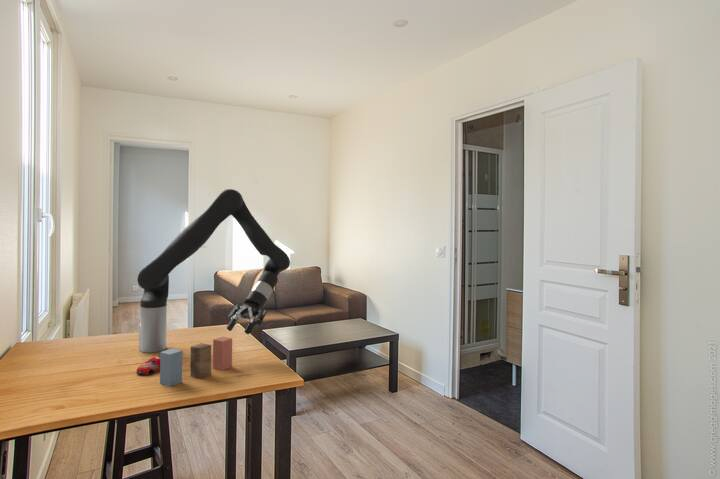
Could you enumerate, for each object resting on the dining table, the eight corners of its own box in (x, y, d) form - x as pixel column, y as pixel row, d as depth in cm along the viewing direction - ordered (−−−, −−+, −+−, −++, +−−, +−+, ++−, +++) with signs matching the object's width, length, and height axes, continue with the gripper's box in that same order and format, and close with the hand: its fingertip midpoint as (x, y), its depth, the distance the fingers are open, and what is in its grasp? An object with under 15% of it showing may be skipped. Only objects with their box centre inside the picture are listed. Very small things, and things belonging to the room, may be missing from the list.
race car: (145, 377, 137) (145, 365, 137) (132, 375, 139) (132, 363, 139) (175, 365, 149) (175, 354, 149) (163, 363, 151) (163, 352, 151)
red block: (212, 368, 146) (213, 339, 146) (222, 364, 150) (222, 336, 150) (222, 370, 144) (222, 341, 144) (231, 366, 148) (232, 338, 148)
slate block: (160, 383, 131) (160, 352, 131) (172, 379, 135) (172, 348, 135) (169, 386, 129) (170, 354, 129) (182, 381, 133) (182, 350, 133)
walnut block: (190, 376, 138) (190, 346, 138) (201, 372, 142) (201, 343, 142) (200, 379, 136) (200, 348, 136) (211, 374, 140) (211, 345, 140)
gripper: (240, 288, 164) (217, 323, 154) (269, 291, 157) (247, 328, 148) (249, 299, 169) (228, 334, 159) (277, 303, 162) (257, 339, 153)
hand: (237, 331), depth 153 cm, fingers open, 8 cm apart
